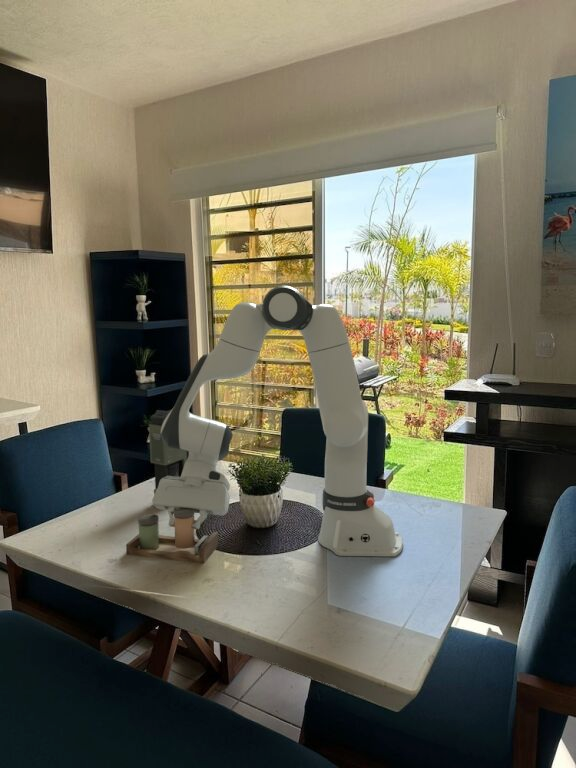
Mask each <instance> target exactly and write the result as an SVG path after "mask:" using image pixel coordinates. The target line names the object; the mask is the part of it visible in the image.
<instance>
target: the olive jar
mask: <svg viewBox="0 0 576 768" xmlns="http://www.w3.org/2000/svg"><path fill="white" fill-rule="evenodd" d="M159 521H160V517H159V515H157V514H144V515H141V516H139V517H138V519H137V523H138V534H139V544H140V549H148V550H157V549H158V548H159V535H160V529H159V528H160V527H159Z"/></svg>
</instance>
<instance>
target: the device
mask: <svg viewBox="0 0 576 768" xmlns="http://www.w3.org/2000/svg"><path fill="white" fill-rule="evenodd" d="M171 410H172V409H168V410H161V409H157V410H155V413H154V414H153V415H151V416H150V418H149V420H150V422H149V424H148V429H149V430H148V431H149V433H148V434H149V452H150V454H149V455H150V460H149V461H150V464H154V481H155V482H154V483H155V484H154V486H155V488H154V490H153V495H154V494H155V492H156V490H157V488H158V485H159V482H160V480H161V479H162V478H164V477H166V476H179V477H181V474H182V471H183V468H184V464H185V462H186V460H187V459H188V456H189V451H186V450H183V449H175V448H170V447H168V446H167V445H166V444H165V443H164V441H163V440H162V438H161V436H160V435H161V427H162V424H163V422H164V420H165V418H166V417H167V415H168V414H169V413H170V411H171ZM165 479H166V478H165Z"/></svg>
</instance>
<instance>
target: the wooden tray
mask: <svg viewBox="0 0 576 768" xmlns="http://www.w3.org/2000/svg"><path fill="white" fill-rule="evenodd" d="M200 539H201V538H195V545H196V544H197V543H198V542H199V540H200ZM195 545H194V546H195ZM194 546H192V547H190V548H185V549H181V548H177V547H176V546H175V536H171V535H161V534H159V548H158V549H157V550H148V549H140V544H139V533H138V534H136V536H134V537H133V538H131V540H130V541H128V542H127V543H126V546H125V548H126V556H128V555H129V556H135V557H146V558H153V559H163V560H170V561H180V562H189V563H196V564H197V563H198V564H205V563H206V562H207V560H208V559H209V558H210V557H211V556H212V554H213V553H214V552H215V551H216V549H217V548H218V547H219V532H217V531H213V532H212V533H211V534H210V536H208V539H207V540H206V541H205V542H204V544H203V545H202V546H201V547H200V548H199V555H195V547H194Z"/></svg>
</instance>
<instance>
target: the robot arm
mask: <svg viewBox="0 0 576 768" xmlns="http://www.w3.org/2000/svg"><path fill="white" fill-rule="evenodd" d="M273 330H279V331H299V333H300V334H301V336H302V338H303V342H304V343H305V344H304V345H305V347H306V352H307V357H308V359H309V364H310V368H311V371H312V376H313V381H314V385H315V389H316V390H315V391H316V396H317V402H318V408H319V409H318V410H319V414H320V415H319V416H320V419H321V424H322V430H323V432H324V436H325V437H326V443H325V455H324V456H325V457H324V487H323V490H322V497H321V499H322V500H321V501H322V503H321V504H322V505H321V506H322V511H323V512H322V513H323V514H322V522H321V526H320V530H319V534H318V537H317V541H318V542H319V544H320V545H321V546H323V547H324V548H326V549H328V550H331V552H332V553H334V554H335V555H337V556H339V557H396V556H398V555H399V554H401V552H402V550H403V548H404V543H403V537H402V535H401V534H400V533H399V532H398V531H395V527H394V523H393V520H392V517H390V515H389V514H387V513H385V511H383V510H382V509H380V507H378V506H377V505H375V502H376V501H375V495H374V491H373V490H371V492H370V490H369V489H367V466H368V465H367V463H368V439H369V438H368V435H369V410H368V406H367V405H366V403H365V401H364V400H363V399H362V393H361V389H360V384H359V379H358V372H357V368H356V364H355V359H354V356H353V353H352V348H351V343H350V341H349V340H350V339H349V336H348V333H347V330H346V327H345V324H344V322H343V319H342V316H341V315H340V313H339V311H338V308H336V307H335V306H333V305H332V304H327V303H320V304H315V305H313V304H311V302H310V301H309V300H308V299H307V298H306V297H305V296H304V295H303V294H302V293H301V292H300V291H299V290H298V289H297V288H295V287H293V286H290V285H278V286H275V287H273V288H271V289H270V290H269V291H268V292H267V293H266V294H265V296H264V298H263V301H262V302H261V303H259V304H256V303H254V302H253V303H252V302H248V301H247V302H246V301H244V302H238V303H237V304H235V305H234V306H233V307H232V309H231V311H230V313H229V315H228V316H227V319H226V320H225V323H224V325H223V328H222V329H221V332H220V336H219V339H218V342H217V344H216V346H214V348H213V349H212V351H210V352H209V353H207V354H203V355H201V357H199V359H198V360H197V361H196V364H195V366H194V367H193V369H192V371H191V372H190V374H189V376H188V378H187V380H186V381H185V384H184V386H183V388H182V389H181V392H180V393H179V395H178V397H177V400H176V402H175V404H174V406H173V408H172V409H170V410H171V411H170V413H169V414H168V415H167V417H166V418H165V420H164V422H163V424H162V427H161V435H160V436H161V438H162V440H163V441H164V443H165V444H166V445H167V446H168V447H170V448H175V449H183V450H186V451H189V456H188V459H187V460H186V462H185V464H184V468H183V471H182V474H181V477H179V476H166V477H164V478H162V479H161V480H160V482H159V485H158V488H157V490H156V492H155V494H154V493H153V497H152V500H151V501H152V505H153V506H154V507H155V508H156V509H157V510H163V511H167V512H168V516H169V521H168V526H169V527H172V528H175V525H174V510H175V509H177V508H190V509H194V512H195V514H199V517H198V518H197V519H194V520H193V524H192V528H193V529H195V530H200V527H201V524H202V523H203V522H204V521H205V520H206V519H207V517H208V515H215V516H225V515H226V514H227V513H228V512H229V507H230V502H231V501H230V499H231V495H230V492H229V490H230V488H231V484H230V482H229V480H228V478H227V477H226V475H225V474H223V473H222V472H219V471H217V464H218V462H220V461H221V460H223V459H225V458H226V457H228V455H229V450H230V446H231V445H230V444H231V442H232V440H233V436H234V435H233V432H232V429H231V428H230V426H229V425H228V424H227V423H223V422H221V421H218V420H215V419H212V418H210V419H209V418H207V417H203V416H201V415H198V414H197V415H196V414H194V413H192V412H190V409H191V406H192V404H193V402H194V401H195V399H196V397H197V394H199V391H200V389H201V387H202V386H204V384H206V383H208V382H210V381H216V380H231V379H237V378H241V377H244V376H246V375H248V374H250V372H252V371H253V370H254V368H255V366H256V363H257V362H258V360H259V356H260V353H261V350H262V347H263V344H264V342H265V339H266V337H267V335H268V334H269V333H270V332H271V331H273ZM165 478H166V479H165Z"/></svg>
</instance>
